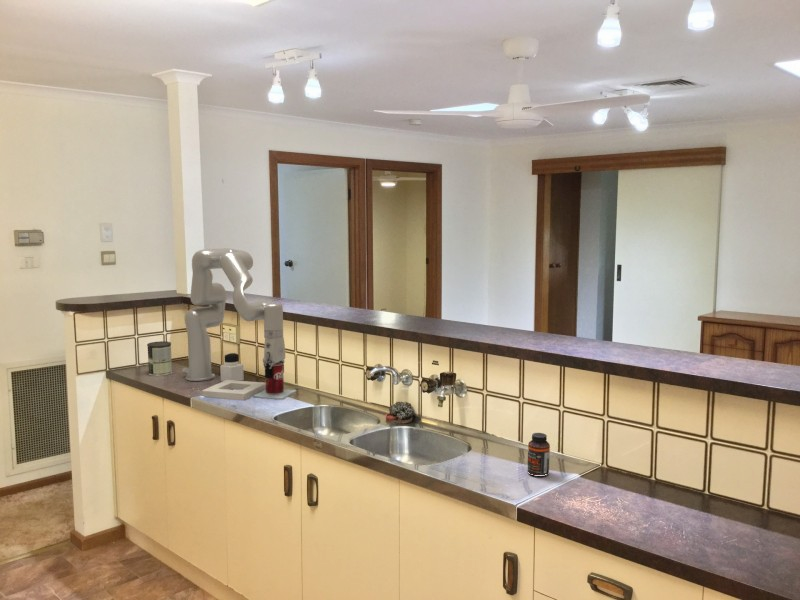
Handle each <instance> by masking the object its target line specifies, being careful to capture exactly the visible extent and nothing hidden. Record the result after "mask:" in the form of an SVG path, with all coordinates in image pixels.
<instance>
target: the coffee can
mask: <svg viewBox="0 0 800 600" xmlns="http://www.w3.org/2000/svg"><path fill="white" fill-rule="evenodd" d="M146 346H147V359H148V360H147V362H148V375H149V376H152V377H160V376H161V377H162V376H167V375H172V373H173V369H172V368H173V366H172V361H173V360H172V342H171V341H166V340H165V341H163V340H162V341H152V342H149V343H147V344H146Z"/></svg>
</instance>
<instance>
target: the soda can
mask: <svg viewBox="0 0 800 600" xmlns="http://www.w3.org/2000/svg"><path fill="white" fill-rule="evenodd" d="M269 365H270V363H269ZM272 369H273V378H272V379H269V378H265V377H264V381H265V382H264V383H265V384H266V393H267V394H270V395H278V394H282V393H283V392H284V389H285V388H284V387H285V383H284V381H285V379H284V373H285V372H284V373H283V364H282V363H280V362H278V363H274V362H273V366H272Z"/></svg>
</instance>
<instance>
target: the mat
mask: <svg viewBox="0 0 800 600" xmlns="http://www.w3.org/2000/svg"><path fill="white" fill-rule="evenodd" d="M297 392H298V390H296V389H286V388H284V392H283V393H282V394H278V395H270V394H267V393H266V389H265V390H263V391H261V392H259V393H257V394H255V395H254V396H252V398H257V399H258V398H259V399H271V400H281V401H282V400H284V399H286V398H288V397H290V396H292V395H294V394H295V393H297Z"/></svg>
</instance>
